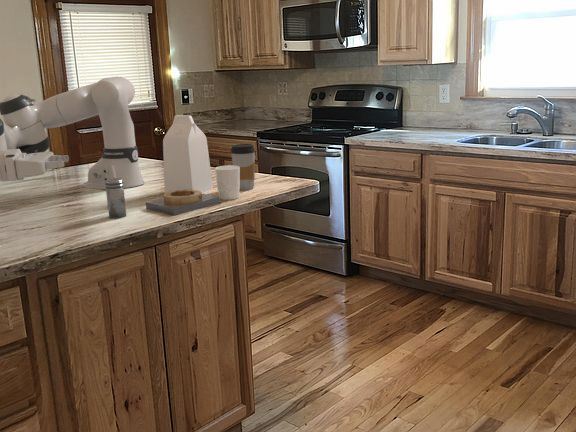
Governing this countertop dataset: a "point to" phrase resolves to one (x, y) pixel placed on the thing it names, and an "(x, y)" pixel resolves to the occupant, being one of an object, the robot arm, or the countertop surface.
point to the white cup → (228, 181)
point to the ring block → (182, 201)
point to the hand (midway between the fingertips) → (66, 161)
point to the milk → (186, 157)
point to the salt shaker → (115, 198)
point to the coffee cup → (244, 164)
